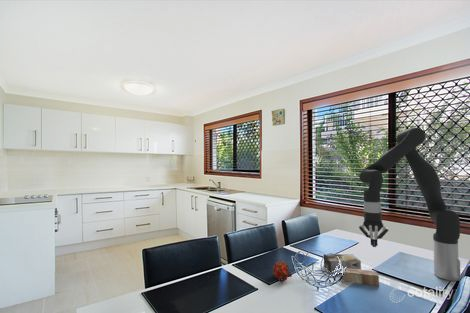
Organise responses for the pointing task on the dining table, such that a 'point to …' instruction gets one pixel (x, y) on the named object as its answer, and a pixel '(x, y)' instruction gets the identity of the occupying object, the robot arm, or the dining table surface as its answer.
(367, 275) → the walnut pillar
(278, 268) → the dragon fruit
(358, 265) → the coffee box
